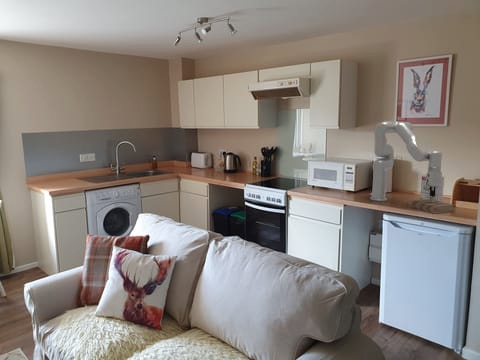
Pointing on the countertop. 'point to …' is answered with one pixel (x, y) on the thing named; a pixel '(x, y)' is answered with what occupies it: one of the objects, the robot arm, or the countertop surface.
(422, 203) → the board
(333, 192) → the countertop surface
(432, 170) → the robot arm
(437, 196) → the cracker box
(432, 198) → the peg
